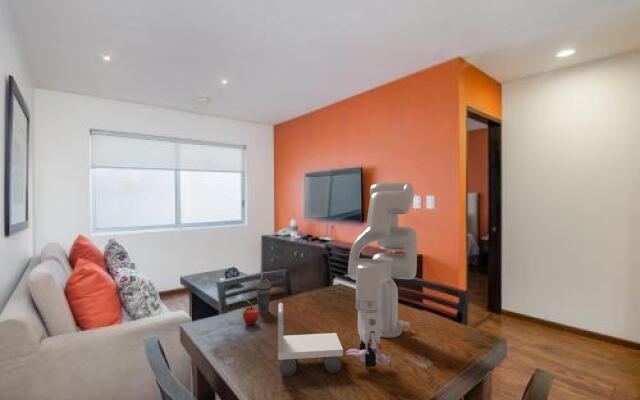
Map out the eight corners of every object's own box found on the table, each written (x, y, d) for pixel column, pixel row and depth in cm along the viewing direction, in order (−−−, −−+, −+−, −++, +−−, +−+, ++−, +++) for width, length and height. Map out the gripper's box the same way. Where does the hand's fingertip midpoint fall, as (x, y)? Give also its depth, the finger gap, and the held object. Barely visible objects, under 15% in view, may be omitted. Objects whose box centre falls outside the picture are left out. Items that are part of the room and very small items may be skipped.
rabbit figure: (391, 363, 102) (345, 353, 104) (394, 345, 102) (348, 335, 104) (393, 374, 96) (344, 363, 98) (396, 355, 96) (347, 344, 98)
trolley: (335, 352, 110) (336, 300, 110) (343, 372, 98) (343, 313, 98) (278, 356, 108) (278, 302, 108) (277, 376, 95) (278, 316, 95)
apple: (261, 321, 138) (261, 298, 138) (256, 327, 131) (256, 303, 131) (243, 320, 139) (243, 297, 138) (238, 327, 132) (238, 303, 132)
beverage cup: (268, 315, 145) (268, 271, 145) (253, 313, 146) (253, 270, 146) (273, 309, 152) (273, 268, 152) (259, 308, 154) (259, 267, 153)
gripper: (388, 313, 91) (388, 375, 91) (371, 295, 108) (371, 347, 109) (363, 314, 90) (363, 377, 91) (350, 295, 108) (349, 348, 108)
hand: (367, 360), depth 100 cm, fingers closed on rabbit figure, 5 cm apart
